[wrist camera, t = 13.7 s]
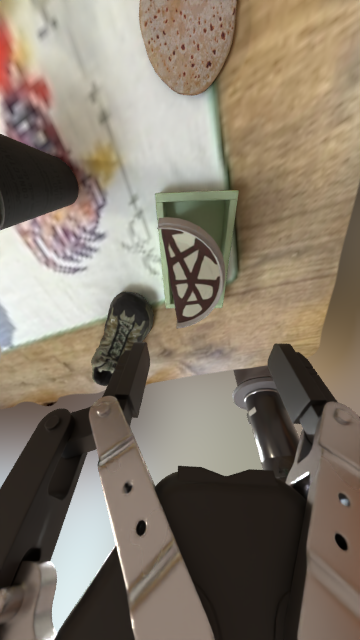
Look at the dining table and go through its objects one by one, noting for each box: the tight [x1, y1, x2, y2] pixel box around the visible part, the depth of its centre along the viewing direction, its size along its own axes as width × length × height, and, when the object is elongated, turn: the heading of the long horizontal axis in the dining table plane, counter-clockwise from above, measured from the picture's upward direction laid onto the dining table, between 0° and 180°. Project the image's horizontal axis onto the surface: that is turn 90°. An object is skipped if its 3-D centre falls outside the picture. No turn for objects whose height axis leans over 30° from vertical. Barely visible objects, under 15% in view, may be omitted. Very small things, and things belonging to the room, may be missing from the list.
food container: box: [157, 217, 225, 328], centre depth 22 cm, size 12×6×10 cm, turn 8°
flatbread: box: [139, 0, 237, 95], centre depth 14 cm, size 8×8×1 cm
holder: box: [155, 190, 239, 308], centre depth 25 cm, size 15×9×4 cm, turn 2°
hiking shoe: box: [91, 292, 154, 386], centre depth 32 cm, size 8×21×9 cm, turn 154°
